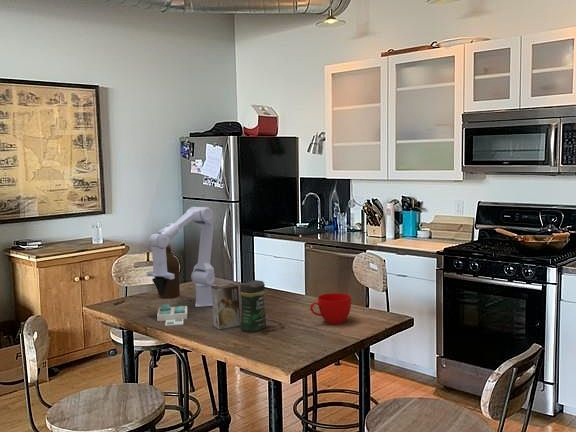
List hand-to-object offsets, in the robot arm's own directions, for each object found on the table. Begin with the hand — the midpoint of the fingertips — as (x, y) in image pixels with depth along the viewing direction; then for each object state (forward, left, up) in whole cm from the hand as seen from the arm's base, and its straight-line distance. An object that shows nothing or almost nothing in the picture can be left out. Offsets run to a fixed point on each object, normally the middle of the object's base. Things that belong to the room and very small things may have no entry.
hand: (161, 294), depth 247 cm
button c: (-1, -2, -8) cm, 8 cm away
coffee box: (-26, +21, -10) cm, 34 cm away
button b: (-7, +4, -8) cm, 11 cm away
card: (-5, +11, -10) cm, 15 cm away
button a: (-7, -2, -9) cm, 12 cm away
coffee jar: (-36, +28, -10) cm, 46 cm away
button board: (-4, +1, -10) cm, 10 cm away
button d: (-1, +4, -9) cm, 10 cm away
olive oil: (-2, -36, -10) cm, 38 cm away
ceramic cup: (-66, +28, -10) cm, 72 cm away
